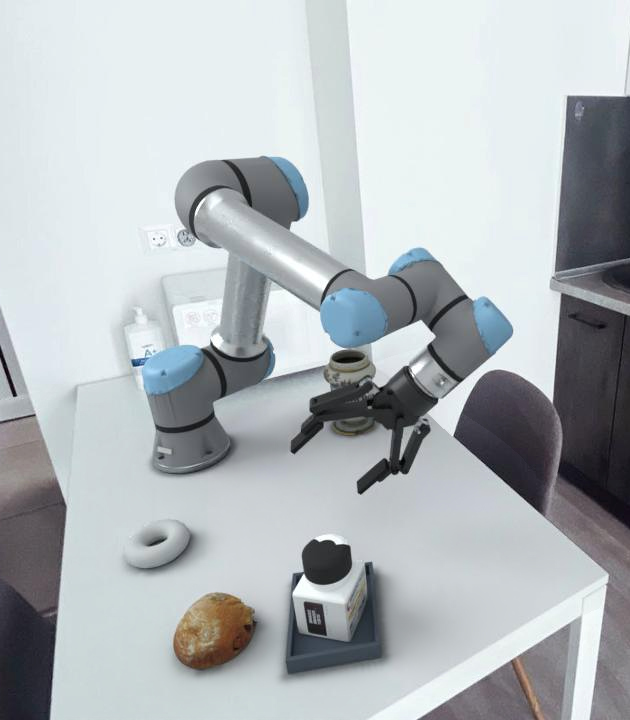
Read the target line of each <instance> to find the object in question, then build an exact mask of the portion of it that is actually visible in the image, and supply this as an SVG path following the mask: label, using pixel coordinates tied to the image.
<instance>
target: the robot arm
mask: <svg viewBox="0 0 630 720" xmlns="http://www.w3.org/2000/svg"><path fill="white" fill-rule="evenodd" d="M175 187H176V188H175V191H174V209H175V212H176V215H177V217H178V219H179V221H180V223H181V224H182V226H183V227H184V228H185V229H186V231H187V232H188V233H189V234H190V235H191V236H193V238H195V239H196V240H198V241H199V242H200V243H203V244H204V245H205V246H208V247H209V248H212V249H218V250H219V249H224V251H227V252H228V257H227V263H226V273H225V281H224V288H223V289H224V290H223V298H222V306H221V312H220V313H221V314H220V322H219V325H217V326H216V327H214V328H213V330H212V331H211V334H210V339H209V340H210V341H209V345H206V346H203V347H201V348H200V347H199V346H197V345H193V344H181V345H179V346H171V347H168V348H165V349H163V350H160V351H158V352H156V353H154V354H153V355H152V356H150V357H149V358H148V359H147V360H146V361H145V362H144V364H143V366H142V367H141V368H142V369H141V376H142V383H143V384H142V385H143V390H144V392H145V394H146V398H147V402H148V405H149V410H150V412H151V415H152V416H151V417H152V420H153V424H154V428H155V434H154V440H153V441H154V442H153V449H152V459H153V463H154V466H155V467H156V469H158V470H159V471H161V472H164V473H168V474H187V473H193V472H198V471H201V470H204V469H207V468H209V467H211V466H213V465H215V464H217V463H218V462H220V461H221V460H223V459H224V458H225V457H226V456H227V455H228V453H229V452H230V450H231V441H230V437H229V434H228V432H227V431H226V430H225V428H224V427H223V425H222V424H221V422H220V420H219V419H218V417H217V416H216V412H215V408H214V403H215V402H217V401H218V400H221V399H224V398H225V397H228V396H231V395H234V394H236V393H238V392H240V391H242V390H245V389H248V388H250V387H253V386H256V385H258V384H260V383H261V382H262V381H264V380H266V379H268V378H269V377H270V376H271V375H272V373H273V372H274V370H275V367H276V353H274V350H275V348H274V345H273V343H272V342H271V340H270V339H269V337H268V336H267V335H266V332H264V325H265V320H266V315H267V309H268V304H269V299H270V293H271V287H272V282H273V283H275V284H276V285H278V286H279V287H281V288H282V289H284V290H285V291H287V292H288V293H290V294H291V295H293V296H294V297H296V298H297V299H299V300H300V301H302V302H303V303H304V304H306V305H308V306H309V307H311V308H312V309H314V310H315V311H316V312H318V313H319V317H320V318H319V319H320V323H321V327H322V329H323V331H324V333H325V334H328V336H329V339H330V341H331V342H332V343H333V344H335V345H336V346H337V347H339V348H342V349H358V348H359V347H363V346H366V345H369V344H373V343H375V342H377V341H379V340H381V339H382V338H384V337H386V336H388V335H391V334H392V333H395V332H397V331H400V330H401V329H403V328H406V327H408V326H411V325H413V324H415V323H418V322H423V324H424V325H425V327H427V329H428V330H429V331H430V332H431V333H432V334H433V335H434V336H435V337H434V338H433V339H432V340H431V341H430V342H429V343H428V344H426V345H425V346H424V347H423V348H422V349H421V350H420V351H419V352H418V353H417V354H416V355H414V356H413V357H412V358H411V359H410V360H409V361H408V365H403V367H401V368H400V369H399V370H398V371H397V372H396V373H395V374H393V376H391V378H389V379H388V381H387V382H386V383H385V384H384V385H382V386H378V385H377V384H376V383H375V382H374V381H373V379H372V377H371V376H370V375H366V376H364V377H363V378H361V379H360V380H359V381H357V382H356V383H353V384H350V385H347V386H344V387H341V388H339V389H336V390H333V391H331V390H330V391H327V392H324V393H321V394H318V395H316V396H312V397H310V399H309V402H308V403H309V410H308V411H309V413H310V414H311V415H309V416H308V417H307V419H305V420H304V421H303V422H302V423H301V425H300V432H299V433H298V434H297V435H296V436H295V437H294V438H292V439H291V440H290V449H289V450H290V453H291V454H292V455H296V454H297V453H298V452H299V451H300V450H301V449H302V448H303V447H305V446H306V445H307V444H308V443H309V442H311V440H312V439H313V438H314V437H315V436H317V434H318V433H320V432H321V431H322V430H323V429H324V428H325V423H328V422H335V421H336V420H342V419H349V418H356V417H364V418H370V417H372V418H373V420H374V421H375V423H377V424H380V425H382V426H383V428H384V429H386V430H387V431H389V430H391V438H390V446H389V447H390V448H389V456H388V459H387V458H386V457H382V459H380V461H378V462H377V463H376V464H375V465H374V466H373V467H371V468H370V469H369V470H368V471H367V472H365V473H364V474H363V475H362V476H361V477H359V479H357V480H356V491H357V492H356V493H357V494H358V495H361V496H362V495H363V494H364V493H366V492H367V491H368V490H369V489H370V488H371V487H373V485H375V484H376V483H377V482H378V483H382V482H383V481H385V479H387V478H388V477H389V476H391V475H392V476H397V475H398V474H399V473H401V474H402V475H403V476H404V475H405V476H406V475H408V474H409V472H410V471H411V468H412V467H413V464H414V462H415V459H416V456H417V455H418V452H419V450H420V448H421V445H422V443H423V441H424V440H425V438H426V437H427V436H428V435H429V434H430V433H431V430H432V428H431V426H430V423H429V419H427V418H421V417H423V416H425V415H426V414H427V413H429V412H430V411H431V410H433V408H434V407H435V406H437V405H438V404H439V399H441V400H442V399H444V398H445V397H447V395H449V394H450V393H451V392H452V391H453V390H454V389H455V388H457V387H458V386H459V385H460V384H461V383H463V381H465V380H466V379H467V378H468V377H470V376H471V374H473V373H475V371H477V370H478V369H479V368H480V367H481V366H483V365H484V364H485V363H487V361H488V360H489V359H490V358H492V357H493V356H494V355H496V354H497V352H498V351H499V350H500V349H501V348H502V347H503V346H504V345H505V344H506V343H507V342H508V341H509V340H510V339H511V338H512V337H513V334H514V326H513V325H512V323H511V322H510V320H509V319H508V318H507V317H506V315H505V314H504V313H503V312H502V311H501V310H500V309H499V308H498V307H497V306H496V305H495V303H494V302H492V300H490V299H489V298H488V297H487V296H485V295H484V296H483V295H482V296H480V297H478V298H477V299H474V300H473V299H472V297H471V298H470V297H469V296H468V294H467V293H466V292H465V291H464V290H463V288H462V287H461V286H460V284H458V282H457V281H456V280H455V279H454V277H453V276H452V275H451V274H450V273H449V271H447V269H446V268H445V267H444V265H443V264H442V263H441V262H440V261H439V260H437V259H436V258H435V257H434V256H433V254H431V252H429V250H428V249H426V248H424V247H421V246H417V247H413V248H411V249H409V250H408V251H406V252H404V253H402V254H400V256H398V258H397V259H395V261H393V263H392V264H391V265H390V267H389V269H388V271H387V275H385V276H381V277H378V278H374V279H372V278H369V277H368V276H366V275H364V274H363V273H361V272H359V271H357V270H356V269H354V268H353V267H351V266H349V265H348V264H346V263H344V262H342V261H341V260H339V259H338V258H336V257H334V256H333V255H331V254H329V253H328V252H326V251H324V250H322V249H321V248H319V247H318V246H316V245H314V244H313V243H311V242H309V241H307V240H306V239H304V238H302V237H301V236H300V235H298V234H296V233H294V232H292V231H291V228H292V227H291V226H292V223H297V222H300V220H301V219H302V220H303V219H304V218H305V216H306V215H307V213H308V210H309V205H310V198H309V191H308V188H307V184H306V182H305V180H304V178H303V175H302V173H301V172H300V170H299V168H297V166H295V164H294V163H292V162H291V161H290V160H289V159H287V158H285V157H281V156H266V155H260V156H258V157H244V158H241V157H240V158H229V159H226V158H225V159H210V160H204V161H201V162H199V163H196V164H194V165H192V166H191V167H189V168H188V169H187V170H185V172H184V173H183V174H182V175H181V177H180V178H179V180H178V182H177V184H176V186H175ZM369 394H374V395H373V397H371V398H364V399H362V400H361V401H356V402H349V401H352V400H355V399H358V398H360V397H362V396H364V395H366V396H369ZM346 402H349V403H346ZM368 406H371V409H368ZM412 426H413V429H412V432H411V434H410V437H409V439H408V441H407V444H406V446H405V449H404V451H403V452H402V455H401V449H402V440H403V437H404V428H408V427H412ZM400 456H401V458H400Z"/></svg>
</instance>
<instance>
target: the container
mask: <svg viewBox="0 0 630 720" xmlns="http://www.w3.org/2000/svg"><path fill="white" fill-rule="evenodd" d="M301 562H302V568H303V572H304V574H303V576H302V578H301V580H300V581H299V583H298V585H297V586H296V588H295V590H294V592H293V594H292V595H293V601H294V607H295V613H296V619H297V625H298V630H299V633H300V634H305V635H311V636H316V637H322V638H328V639H333V640H339V641H344V642H350V641H351V639H352V636H353V634H354V632H355V629H356V627H357V624H358V622H359V620H360V617H361V615H362V613H363V610H364V608H365V605H366V603H367V601H368V594H367V583H366V572H365V563H366V562H365V561H364V560H361V559H360V560H359V559H354V558H352V549H351V543H350V542H349V541H348V539H346V538H345V537H343V536H341V535H339V534H335V533H326V534H321V535H318V536H316V537H314V538H312V539H311V540H309V541H308V542H307V543H306V545H305V546H304V547H303V549H302V552H301Z"/></svg>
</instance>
